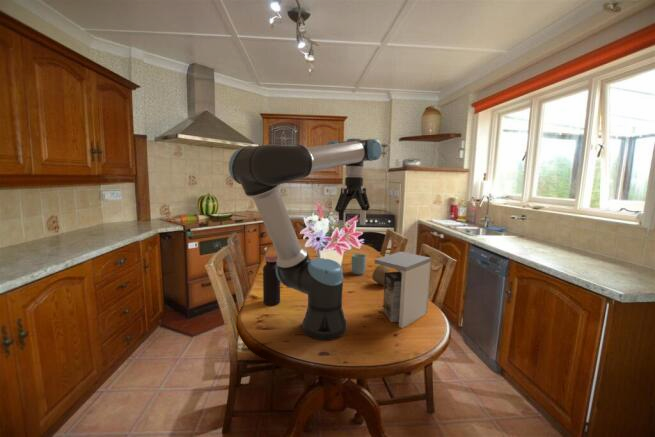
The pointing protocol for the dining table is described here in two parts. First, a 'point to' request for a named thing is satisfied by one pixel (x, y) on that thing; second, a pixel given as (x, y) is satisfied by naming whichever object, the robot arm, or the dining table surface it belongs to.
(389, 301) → the coffee box
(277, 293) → the bottle
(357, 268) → the cup
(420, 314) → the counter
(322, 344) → the dining table surface
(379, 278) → the natural sponge
